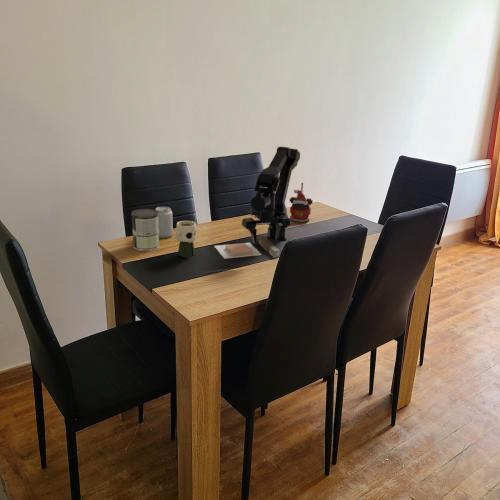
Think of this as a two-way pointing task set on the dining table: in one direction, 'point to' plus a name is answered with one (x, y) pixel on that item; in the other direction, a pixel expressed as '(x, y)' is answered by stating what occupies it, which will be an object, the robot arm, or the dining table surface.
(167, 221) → the can
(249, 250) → the tile
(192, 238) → the character mug
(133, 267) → the dining table surface
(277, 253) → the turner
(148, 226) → the coffee can
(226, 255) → the mat
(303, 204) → the red and brown figurine
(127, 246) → the dining table surface
